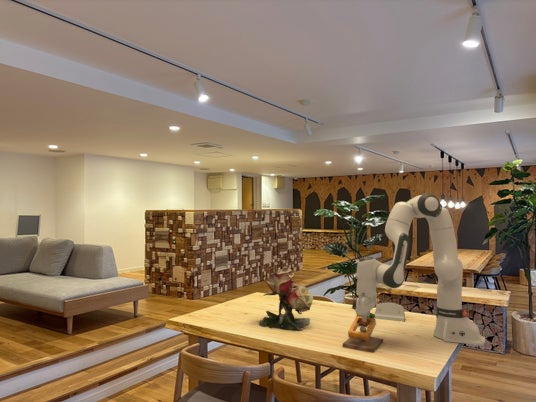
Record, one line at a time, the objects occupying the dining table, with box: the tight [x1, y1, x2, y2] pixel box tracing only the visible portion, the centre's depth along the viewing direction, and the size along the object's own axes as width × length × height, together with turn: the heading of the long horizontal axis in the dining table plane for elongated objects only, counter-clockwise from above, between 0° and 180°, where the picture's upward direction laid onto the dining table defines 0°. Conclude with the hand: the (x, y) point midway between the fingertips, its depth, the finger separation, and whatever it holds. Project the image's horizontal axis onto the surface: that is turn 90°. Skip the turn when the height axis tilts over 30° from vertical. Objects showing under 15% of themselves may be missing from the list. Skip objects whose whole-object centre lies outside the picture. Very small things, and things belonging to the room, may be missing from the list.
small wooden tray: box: [347, 315, 377, 341], centre depth 182 cm, size 9×13×3 cm
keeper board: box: [342, 325, 384, 354], centre depth 181 cm, size 14×16×8 cm
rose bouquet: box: [258, 266, 314, 331], centre depth 216 cm, size 26×29×30 cm
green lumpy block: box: [356, 312, 375, 327], centre depth 214 cm, size 12×6×9 cm, turn 133°
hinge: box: [374, 302, 406, 323], centre depth 225 cm, size 17×5×10 cm, turn 66°
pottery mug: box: [351, 298, 357, 310], centre depth 247 cm, size 12×10×8 cm
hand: (365, 320), depth 186 cm, fingers closed on small wooden tray, 2 cm apart
